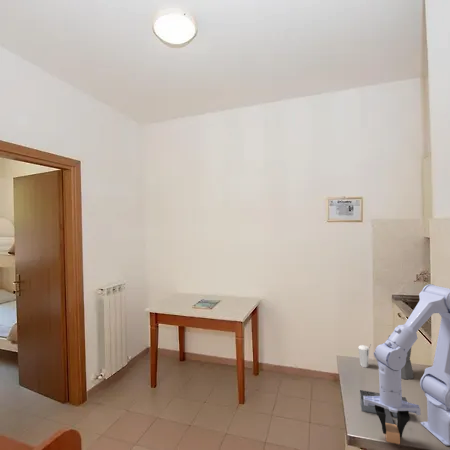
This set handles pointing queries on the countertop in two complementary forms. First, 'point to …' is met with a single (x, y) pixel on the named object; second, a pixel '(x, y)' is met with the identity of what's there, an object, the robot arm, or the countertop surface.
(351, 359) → the countertop surface
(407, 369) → the coffeepot
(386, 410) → the plug
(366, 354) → the milkshake
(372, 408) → the grey bridge block
